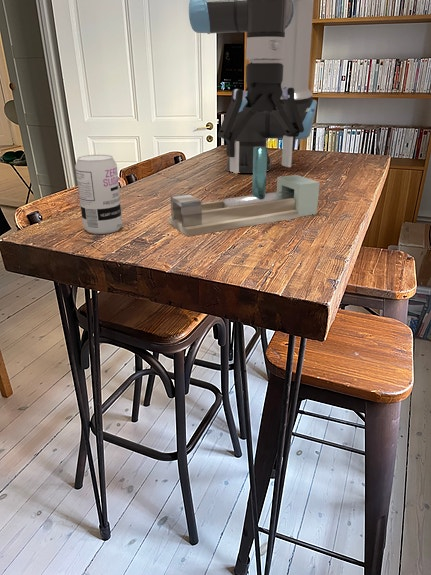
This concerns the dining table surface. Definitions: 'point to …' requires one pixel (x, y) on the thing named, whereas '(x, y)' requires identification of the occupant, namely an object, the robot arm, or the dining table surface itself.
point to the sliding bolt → (258, 184)
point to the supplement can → (99, 193)
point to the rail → (225, 214)
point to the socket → (301, 193)
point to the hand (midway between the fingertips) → (260, 169)
